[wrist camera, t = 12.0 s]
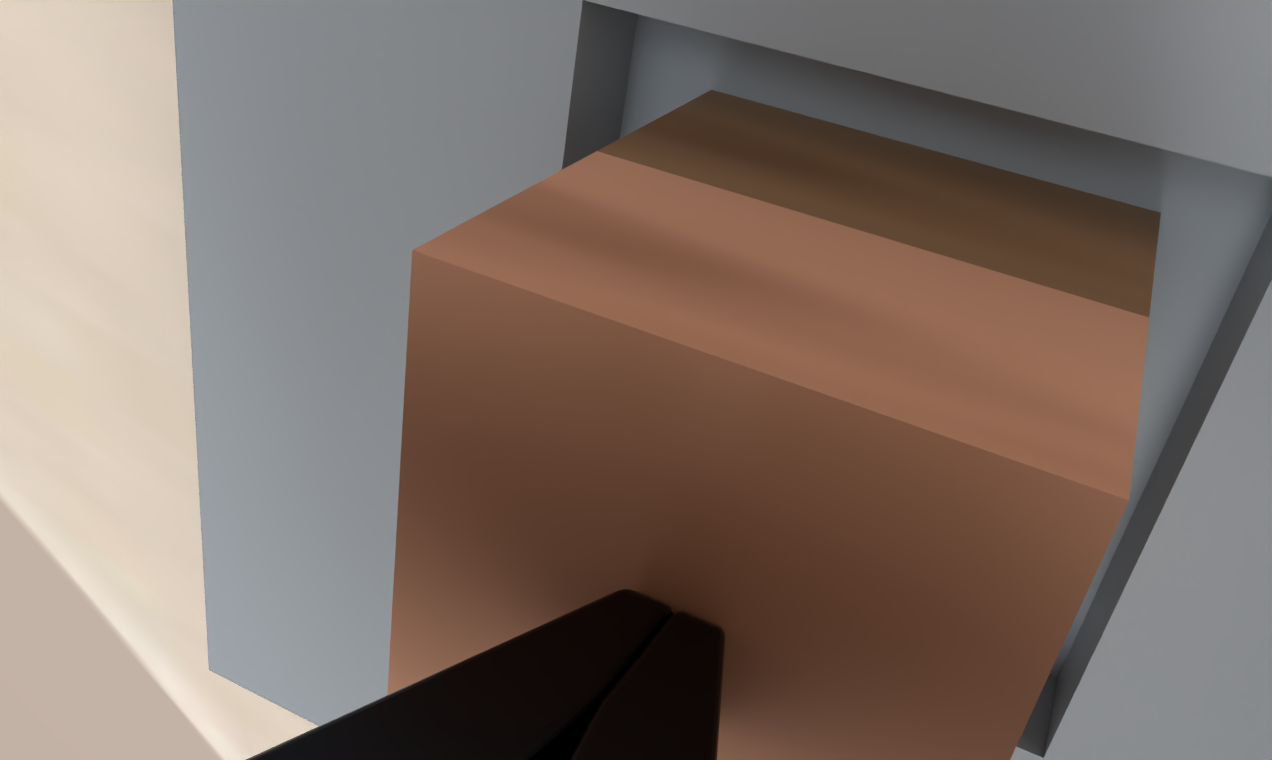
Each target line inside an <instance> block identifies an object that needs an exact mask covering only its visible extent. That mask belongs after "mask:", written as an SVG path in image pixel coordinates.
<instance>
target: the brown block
mask: <svg viewBox="0 0 1272 760" xmlns="http://www.w3.org/2000/svg"><path fill="white" fill-rule="evenodd" d="M1160 216H1161V213H1160V212H1156V211H1153V210H1149V209H1145V208H1142V207H1138V206H1134V205H1131V204H1127V203H1124V202H1120V201H1116V200H1113V199H1109V198H1105V197H1102V196H1098V195H1094V194H1091V193H1087V192H1083V191H1080V190H1076V189H1072V188H1069V187H1065V186H1062V185H1058V184H1054V183H1051V182H1047V181H1043V180H1040V179H1036V178H1032V177H1029V176H1025V175H1021V174H1018V173H1014V172H1010V171H1007V170H1003V169H999V168H996V167H992V166H989V165H985V164H981V163H978V162H974V161H970V160H967V159H963V158H959V157H956V156H952V155H948V154H945V153H941V152H937V151H934V150H930V149H927V148H923V147H919V146H916V145H912V144H908V143H905V142H901V141H897V140H894V139H890V138H886V137H883V136H879V135H875V134H872V133H868V132H864V131H861V130H857V129H854V128H850V127H846V126H843V125H839V124H835V123H832V122H828V121H824V120H821V119H817V118H813V117H810V116H806V115H802V114H799V113H795V112H792V111H788V110H784V109H781V108H777V107H773V106H770V105H766V104H762V103H759V102H755V101H751V100H748V99H744V98H740V97H737V96H733V95H730V94H726V93H722V92H719V91H715V90H710V91H708V92H706V93H704V94H702V95H701V96H699V97H697V98H695V99H693V100H691V101H689V102H687V103H686V104H684V105H682V106H680V107H678V108H676V109H674V110H673V111H671V112H669V113H667V114H665V115H663V116H661V117H660V118H658V119H656V120H654V121H652V122H650V123H648V124H646V125H645V126H643V127H641V128H639V129H637V130H635V131H633V132H632V133H630V134H628V135H626V136H624V137H622V138H620V139H618V140H617V141H615V142H613V143H611V144H609V145H607V146H605V147H604V148H602V149H600V150H598V151H596V152H594V153H592V154H591V155H589V156H587V157H585V158H583V159H581V160H579V161H577V162H576V163H574V164H572V165H570V166H568V167H566V168H564V169H563V170H561V171H559V172H557V173H555V174H553V175H551V176H549V177H548V178H546V179H544V180H542V181H540V182H538V183H536V184H535V185H533V186H531V187H529V188H527V189H525V190H523V191H522V192H520V193H518V194H516V195H514V196H512V197H510V198H508V199H507V200H505V201H503V202H501V203H499V204H497V205H495V206H494V207H492V208H490V209H488V210H486V211H484V212H482V213H481V214H479V215H477V216H475V217H473V218H471V219H469V220H467V221H466V222H464V223H462V224H460V225H458V226H456V227H454V228H453V229H451V230H449V231H447V232H445V233H443V234H441V235H439V236H438V237H436V238H434V239H432V240H430V241H428V242H426V243H425V244H423V245H421V246H419V247H417V248H415V249H413V250H412V262H411V280H410V298H409V316H408V334H407V351H406V369H405V387H404V405H403V423H402V441H401V459H400V477H399V494H398V512H397V530H396V548H395V566H394V584H393V602H392V620H391V637H390V655H389V673H388V691H387V695H389V694H391V693H394V692H396V691H398V690H400V689H402V688H405V687H407V686H409V685H411V684H413V683H416V682H418V681H420V680H422V679H424V678H427V677H429V676H431V675H433V674H435V673H438V672H440V671H442V670H444V669H446V668H448V667H451V666H453V665H455V664H457V663H459V662H462V661H464V660H466V659H468V658H470V657H473V656H475V655H477V654H479V653H481V652H484V651H486V650H488V649H490V648H492V647H495V646H497V645H499V644H501V643H503V642H506V641H508V640H510V639H512V638H514V637H517V636H519V635H521V634H523V633H525V632H528V631H530V630H532V629H534V628H536V627H539V626H541V625H543V624H545V623H547V622H550V621H552V620H554V619H556V618H558V617H561V616H563V615H565V614H567V613H569V612H571V611H574V610H576V609H578V608H580V607H582V606H585V605H587V604H589V603H591V602H593V601H596V600H598V599H600V598H602V597H604V596H607V595H609V594H611V593H613V592H615V591H618V590H621V589H631V590H635V591H637V592H639V593H642V594H644V595H646V596H649V597H651V598H653V599H656V600H658V601H661V602H663V603H665V604H667V605H668V606H669V607H670V608H671V610H672V612H673V614H674V613H675V612H679V611H684V612H687V613H689V614H691V615H694V616H696V617H698V618H701V619H703V620H706V621H708V622H710V623H713V624H715V625H717V626H719V627H721V628H722V629H723V631H724V633H725V650H724V665H723V679H722V694H721V709H720V724H719V738H718V753H717V760H1010V759H1011V757H1012V755H1013V753H1014V750H1015V748H1016V746H1017V744H1018V742H1019V740H1020V737H1021V735H1022V733H1023V731H1024V729H1025V726H1026V724H1027V722H1028V720H1029V718H1030V715H1031V713H1032V711H1033V709H1034V707H1035V705H1036V702H1037V700H1038V698H1039V696H1040V694H1041V691H1042V689H1043V687H1044V685H1045V683H1046V681H1047V678H1048V676H1049V674H1050V672H1051V670H1052V667H1053V665H1054V663H1055V661H1056V659H1057V657H1058V654H1059V652H1060V650H1061V648H1062V646H1063V643H1064V641H1065V639H1066V637H1067V635H1068V633H1069V630H1070V628H1071V626H1072V624H1073V622H1074V619H1075V617H1076V615H1077V613H1078V611H1079V609H1080V606H1081V604H1082V602H1083V600H1084V598H1085V595H1086V593H1087V591H1088V589H1089V587H1090V584H1091V582H1092V580H1093V578H1094V576H1095V574H1096V571H1097V569H1098V567H1099V565H1100V563H1101V560H1102V558H1103V556H1104V554H1105V552H1106V550H1107V547H1108V545H1109V543H1110V541H1111V539H1112V536H1113V534H1114V532H1115V530H1116V528H1117V526H1118V523H1119V521H1120V519H1121V517H1122V515H1123V512H1124V510H1125V508H1126V506H1127V504H1128V502H1129V496H1130V487H1131V478H1132V469H1133V460H1134V451H1135V442H1136V433H1137V424H1138V415H1139V406H1140V397H1141V388H1142V379H1143V370H1144V361H1145V352H1146V343H1147V334H1148V325H1149V316H1150V307H1151V298H1152V288H1153V279H1154V270H1155V261H1156V252H1157V243H1158V234H1159V225H1160Z"/></svg>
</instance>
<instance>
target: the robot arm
mask: <svg viewBox="0 0 1272 760" xmlns="http://www.w3.org/2000/svg"><path fill="white" fill-rule="evenodd" d="M724 650H725V633H724V631H723V629H722V628H721V627H719V626H717V625H715V624H713V623H710V622H708V621H706V620H703V619H701V618H698V617H696V616H694V615H691V614H689V613H687V612H684V611H679V612H675V613H674V614H673V612H672V610H671V608H670V607H669V606H668V605H667V604H665V603H663V602H661V601H658V600H656V599H653V598H651V597H649V596H646V595H644V594H642V593H639V592H637V591H635V590H631V589H621V590H618V591H615V592H613V593H611V594H609V595H607V596H604V597H602V598H600V599H598V600H596V601H593V602H591V603H589V604H587V605H585V606H582V607H580V608H578V609H576V610H574V611H571V612H569V613H567V614H565V615H563V616H561V617H558V618H556V619H554V620H552V621H550V622H547V623H545V624H543V625H541V626H539V627H536V628H534V629H532V630H530V631H528V632H525V633H523V634H521V635H519V636H517V637H514V638H512V639H510V640H508V641H506V642H503V643H501V644H499V645H497V646H495V647H492V648H490V649H488V650H486V651H484V652H481V653H479V654H477V655H475V656H473V657H470V658H468V659H466V660H464V661H462V662H459V663H457V664H455V665H453V666H451V667H448V668H446V669H444V670H442V671H440V672H438V673H435V674H433V675H431V676H429V677H427V678H424V679H422V680H420V681H418V682H416V683H413V684H411V685H409V686H407V687H405V688H402V689H400V690H398V691H396V692H394V693H391V694H389V695H387V696H385V697H383V698H380V699H378V700H376V701H374V702H372V703H369V704H367V705H365V706H363V707H361V708H358V709H356V710H354V711H352V712H350V713H347V714H345V715H343V716H341V717H339V718H336V719H334V720H332V721H330V722H328V723H325V724H323V725H321V726H319V727H317V728H315V729H312V730H310V731H308V732H306V733H304V734H301V735H299V736H297V737H295V738H293V739H290V740H288V741H286V742H284V743H282V744H279V745H277V746H275V747H273V748H271V749H268V750H266V751H264V752H262V753H260V754H257V755H255V756H253V757H251V758H249V759H246V760H717V753H718V738H719V724H720V709H721V694H722V679H723V665H724Z"/></svg>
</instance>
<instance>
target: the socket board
mask: <svg viewBox="0 0 1272 760" xmlns="http://www.w3.org/2000/svg"><path fill="white" fill-rule="evenodd" d="M173 17H174V35H175V53H176V72H177V90H178V109H179V127H180V145H181V164H182V182H183V200H184V219H185V237H186V256H187V274H188V292H189V311H190V329H191V348H192V366H193V384H194V403H195V421H196V439H197V458H198V476H199V495H200V513H201V531H202V550H203V568H204V587H205V605H206V623H207V642H208V660H209V670H210V671H212V672H214V673H216V674H218V675H220V676H222V677H224V678H226V679H228V680H230V681H232V682H234V683H236V684H238V685H239V686H241V687H243V688H245V689H247V690H249V691H251V692H253V693H255V694H257V695H259V696H261V697H263V698H265V699H267V700H269V701H271V702H273V703H275V704H277V705H279V706H281V707H283V708H285V709H287V710H289V711H291V712H292V713H294V714H296V715H298V716H300V717H302V718H304V719H306V720H308V721H310V722H312V723H314V724H316V725H318V726H321V725H323V724H325V723H328V722H330V721H332V720H334V719H336V718H339V717H341V716H343V715H345V714H347V713H350V712H352V711H354V710H356V709H358V708H361V707H363V706H365V705H367V704H369V703H372V702H374V701H376V700H378V699H380V698H383V697H385V696H387V691H388V673H389V655H390V637H391V620H392V602H393V584H394V566H395V548H396V530H397V512H398V494H399V477H400V459H401V441H402V423H403V405H404V387H405V369H406V351H407V334H408V316H409V298H410V280H411V262H412V250H413V249H415V248H417V247H419V246H421V245H423V244H425V243H426V242H428V241H430V240H432V239H434V238H436V237H438V236H439V235H441V234H443V233H445V232H447V231H449V230H451V229H453V228H454V227H456V226H458V225H460V224H462V223H464V222H466V221H467V220H469V219H471V218H473V217H475V216H477V215H479V214H481V213H482V212H484V211H486V210H488V209H490V208H492V207H494V206H495V205H497V204H499V203H501V202H503V201H505V200H507V199H508V198H510V197H512V196H514V195H516V194H518V193H520V192H522V191H523V190H525V189H527V188H529V187H531V186H533V185H535V184H536V183H538V182H540V181H542V180H544V179H546V178H548V177H549V176H551V175H553V174H555V173H557V172H559V171H561V170H563V169H564V168H566V167H568V166H570V165H572V164H574V163H576V162H577V161H579V160H581V159H583V158H585V157H587V156H589V155H591V154H592V153H594V152H596V151H598V150H600V149H602V148H604V147H605V146H607V145H609V144H611V143H613V142H615V141H617V140H618V139H620V138H622V137H624V136H626V135H628V134H630V133H632V132H633V131H635V130H637V129H639V128H641V127H643V126H645V125H646V124H648V123H650V122H652V121H654V120H656V119H658V118H660V117H661V116H663V115H665V114H667V113H669V112H671V111H673V110H674V109H676V108H678V107H680V106H682V105H684V104H686V103H687V102H689V101H691V100H693V99H695V98H697V97H699V96H701V95H702V94H704V93H706V92H708V91H710V90H715V91H719V92H722V93H726V94H730V95H733V96H737V97H740V98H744V99H748V100H751V101H755V102H759V103H762V104H766V105H770V106H773V107H777V108H781V109H784V110H788V111H792V112H795V113H799V114H802V115H806V116H810V117H813V118H817V119H821V120H824V121H828V122H832V123H835V124H839V125H843V126H846V127H850V128H854V129H857V130H861V131H864V132H868V133H872V134H875V135H879V136H883V137H886V138H890V139H894V140H897V141H901V142H905V143H908V144H912V145H916V146H919V147H923V148H927V149H930V150H934V151H937V152H941V153H945V154H948V155H952V156H956V157H959V158H963V159H967V160H970V161H974V162H978V163H981V164H985V165H989V166H992V167H996V168H999V169H1003V170H1007V171H1010V172H1014V173H1018V174H1021V175H1025V176H1029V177H1032V178H1036V179H1040V180H1043V181H1047V182H1051V183H1054V184H1058V185H1062V186H1065V187H1069V188H1072V189H1076V190H1080V191H1083V192H1087V193H1091V194H1094V195H1098V196H1102V197H1105V198H1109V199H1113V200H1116V201H1120V202H1124V203H1127V204H1131V205H1134V206H1138V207H1142V208H1145V209H1149V210H1153V211H1156V212H1160V213H1161V216H1160V225H1159V234H1158V243H1157V252H1156V261H1155V270H1154V279H1153V288H1152V298H1151V307H1150V316H1149V325H1148V334H1147V343H1146V352H1145V361H1144V370H1143V379H1142V388H1141V397H1140V406H1139V415H1138V424H1137V433H1136V442H1135V451H1134V460H1133V469H1132V478H1131V487H1130V496H1129V502H1128V504H1127V506H1126V508H1125V510H1124V512H1123V515H1122V517H1121V519H1120V521H1119V523H1118V526H1117V528H1116V530H1115V532H1114V534H1113V536H1112V539H1111V541H1110V543H1109V545H1108V547H1107V550H1106V552H1105V554H1104V556H1103V558H1102V560H1101V563H1100V565H1099V567H1098V569H1097V571H1096V574H1095V576H1094V578H1093V580H1092V582H1091V584H1090V587H1089V589H1088V591H1087V593H1086V595H1085V598H1084V600H1083V602H1082V604H1081V606H1080V609H1079V611H1078V613H1077V615H1076V617H1075V619H1074V622H1073V624H1072V626H1071V628H1070V630H1069V633H1068V635H1067V637H1066V639H1065V641H1064V643H1063V646H1062V648H1061V650H1060V652H1059V654H1058V657H1057V659H1056V661H1055V663H1054V665H1053V667H1052V670H1051V672H1050V674H1049V676H1048V678H1047V681H1046V683H1045V685H1044V687H1043V689H1042V691H1041V694H1040V696H1039V698H1038V700H1037V702H1036V705H1035V707H1034V709H1033V711H1032V713H1031V715H1030V718H1029V720H1028V722H1027V724H1026V726H1025V729H1024V731H1023V733H1022V735H1021V737H1020V740H1019V742H1018V744H1017V746H1016V748H1015V750H1014V753H1013V755H1012V757H1011V759H1010V760H1272V0H173Z"/></svg>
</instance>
